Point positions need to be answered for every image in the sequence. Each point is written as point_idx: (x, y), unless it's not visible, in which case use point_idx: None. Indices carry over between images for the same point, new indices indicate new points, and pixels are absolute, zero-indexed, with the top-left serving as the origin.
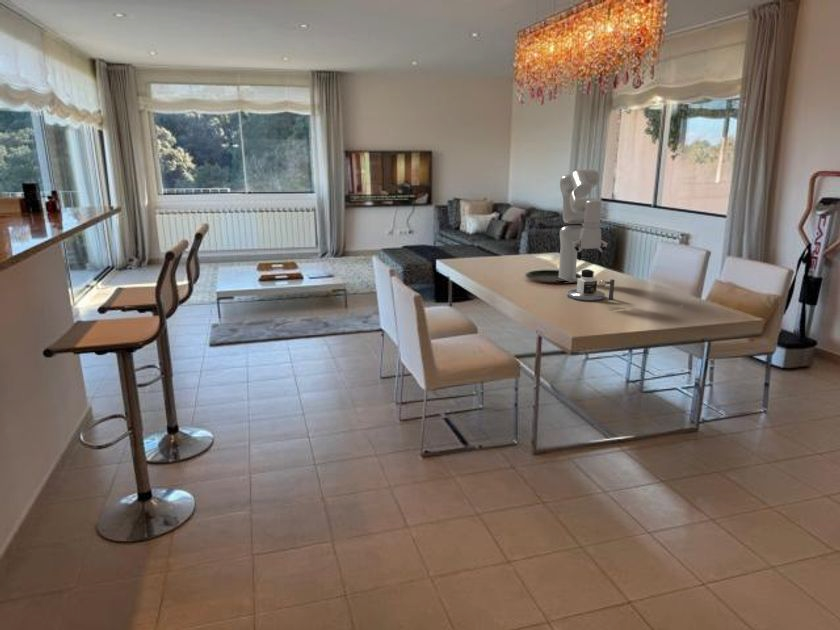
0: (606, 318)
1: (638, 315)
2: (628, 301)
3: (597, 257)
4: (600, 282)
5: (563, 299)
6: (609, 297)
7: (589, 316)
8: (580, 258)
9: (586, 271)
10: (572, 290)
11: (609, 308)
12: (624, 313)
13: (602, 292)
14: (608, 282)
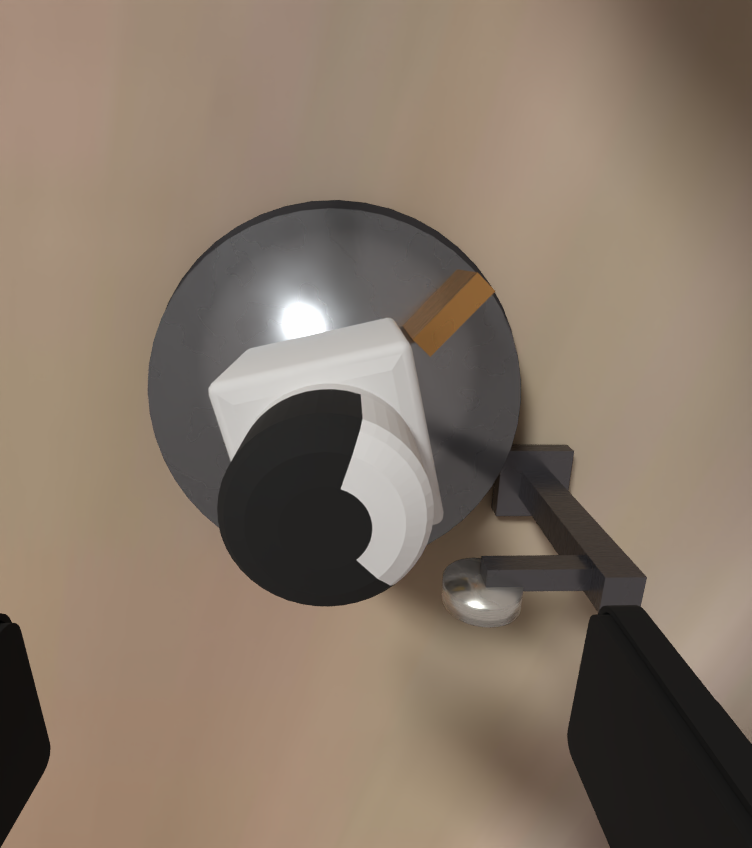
0: (329, 841)
1: (547, 793)
2: (669, 491)
3: (601, 703)
4: (450, 609)
5: (119, 404)
6: (525, 494)
7: (235, 811)
8: (11, 809)
9: (278, 591)
10: (211, 282)
11: (430, 663)
12: (481, 760)
13: (512, 392)
14: (555, 587)
